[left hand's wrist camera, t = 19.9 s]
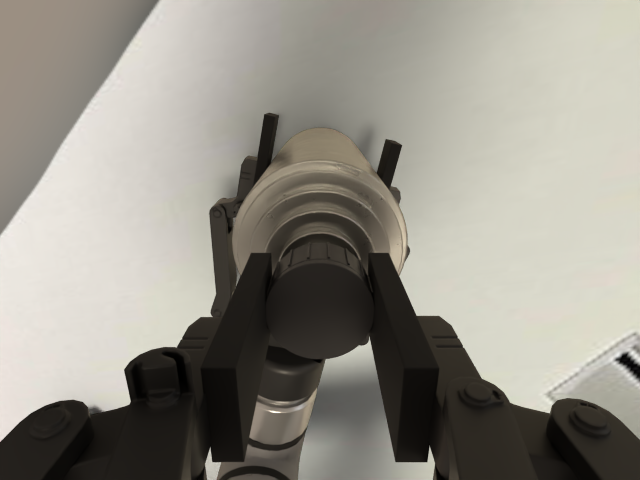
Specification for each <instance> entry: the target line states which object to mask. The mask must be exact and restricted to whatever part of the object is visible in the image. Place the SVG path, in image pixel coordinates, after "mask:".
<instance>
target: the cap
mask: <svg viewBox="0 0 640 480" xmlns="http://www.w3.org/2000/svg"><path fill="white" fill-rule="evenodd" d="M372 294H373V290H372V286H371V283H370V279H369V275H367V273H366V271H365V269H364V267H363V265H362V261H361V260H358V259H357V258H356V257H355V256H354V255H353V254H352V253H350V252H349V251H348V249H347V248H345V249H344V248H342V247H339V246H337V245H333V244H330V242H327V243H312V244H310V243H308V244H306V245H303V246H301V247H298V248H296V249H294V250H293V249H291V250H290V252H289V253H288V254H287V255H286V256H285V257H283V258H282V260H281V261H280V262H279V261H278V262H277V265H276V268H275V270H274V273H273V276H272V277H271V280H270V284H269V288H268V292H267V299H266V303H265V304H266V322H267V326H268V328H269V330H270V332H271V334H272V335H273V337H274V338H275V340H276V341H277V342H278V343H279V344H280V345H281V346H283V347H284V348H285V349H287V350H288V351H290V352H292V353H294V354H296V355H299V356H302V357H306V358H311V359H330V358H334V357H338V356H341V355H344V354H346V353H348V352H350V351H351V350H353V349H355V348H356V347H357V346H358V345H360V344H361V343H362V341H363V340H364V339H365V338H366V337H367V335H368V334H369V332H370V330H371V328H372V325H373V318H374V299H373V295H372Z"/></svg>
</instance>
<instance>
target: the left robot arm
mask: <svg viewBox="0 0 640 480" xmlns="http://www.w3.org/2000/svg"><path fill="white" fill-rule="evenodd" d="M367 275H369V279H370V283H371V286H372V290H373V294H372V295H373V299H374V318H373V325H372V328H371V330H370V332H369V336H370V341H371V345H372V350H373V355H374V360H375V365H376V370H377V374H378V379H379V384H380V389H381V394H382V399H383V403H384V408H385V413H386V418H387V423H388V428H389V433H390V437H391V442H392V447H393V452H394V457H395V462H427V460H428V453H429V445H430V448H431V451H432V454H433V458H434V461H435V469H434V476H433V480H640V440H639V439H638V438H637V437H636V436H635V435H634V434H633V433H632V432H631V431H630V430H629V429H628V428H627V427H626V426H625V425H624V424H623V423H622V422H621V421H620V420H619V419H618V418H616V417H615V416H614V415H613V414H611V413H610V412H609V411H607V410H605V409H603V408H601V407H600V406H598V405H596V404H593V403H590V402H587V401H584V400H581V399H571V398H566V399H561V400H557V401H556V402H555V403H554V404H553V405H552V408H551V412H550V413H545V412H541V411H537V410H532V409H528V408H524V407H520V406H517V405H514V404H512V403H510V402H509V400H508V398H507V397H506V395H505V394H504V392H503V391H501V390H500V389H499V388H498V387H497V386H495V385H494V384H492V383H490V382H488V381H486V380H483V379H482V378H481V377H480V375H479V373H478V371H477V370H476V368H475V366H474V364H473V363H472V361H471V359H470V357H469V356H468V354H467V352H466V350H465V349H464V348H463V345H462V343H461V342H460V340H459V339H458V336H457V335H456V333H455V331H454V329H453V328H452V326H451V325H450V324H449V323H447V322H446V321H445V320H444V319H442V318H441V317H440V316H416V314H415V311H414V309H413V307H412V305H411V302H410V300H409V298H408V295H407V293H406V291H405V289H404V286H403V284H402V282H401V280H400V277H399V275H398V273H397V270H396V268H395V266H394V264H393V261H392V259H391V257H390V254H389V253H368V273H367ZM271 277H272V257H271V253H251V254H250V256H249V258H248V261H247V263H246V265H245V268H244V270H243V272H242V274H241V277H240V279H239V281H238V283H237V286H236V288H235V290H234V293H233V295H232V297H231V299H230V302H229V304H228V306H227V309H226V311H225V313H224V315H223V317H200V318H199V319H198V320H197V321H195V322H194V323H193V324H191V325H190V326H189V327H188V329H187V330H186V332H185V334H184V336H183V337H182V340H181V341H180V343H179V345H178V346H177V348H176V347H162V348H158V349H153V350H150V351H147V352H145V353H143V354H140V355H139V356H137V357H136V358H135V359H133V360H132V361H130V363H129V364H128V365H127V367H126V368H125V369H124V371H125V376H126V381H127V385H128V390H129V395H130V399H131V403H130V405H127V406H125V407H121V408H118V409H114V410H110V411H106V412H101V413H97V414H93V415H90V413H89V409H88V407H87V406H86V405H85V404H84V403H83V402H80V401H76V400H66V401H58V402H55V403H52V404H49V405H46V406H44V407H42V408H40V409H38V410H36V411H34V412H33V413H31V414H30V415H28V416H27V417H26V418H25V419H23V420H22V421H21V422H20V423H19V424H18V425H17V426H16V427H15V428H14V429H13V430H12V431H11V432H10V433H9V434H8V435H7V436H6V437H5V438H4V439H3V440H2V441H1V442H0V480H207V476H206V469H205V462H206V459H207V455H208V452H209V449H210V447H211V455H212V462H244V460H245V456H246V451H247V446H248V441H249V436H250V431H251V426H252V422H253V417H254V412H255V407H256V402H257V397H258V393H259V388H260V383H261V378H262V373H263V368H264V364H265V359H266V354H267V349H268V344H269V339H270V334H271V332H270V330H269V328H268V326H267V322H266V304H265V303H266V299H267V292H268V288H269V284H270V280H271Z"/></svg>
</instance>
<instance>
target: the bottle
mask: <svg viewBox="0 0 640 480" xmlns="http://www.w3.org/2000/svg"><path fill="white" fill-rule="evenodd" d="M327 242H330V244H333V245H337V246H339V247H342V248H344V249H345V248H347V249H348V251H349V252H350V253H352V254H353V255H354V256H355V257H356V258H357V259H358V260H361V261H362V265H363V267H364V269H365V271H366V273H368V253H389V254H390V257H391V259H392V261H393V264H394V266H395V268H396V270H397V273H398V275H400V273H401V271H402V268H403V266H404V262H405V258H406V253H407V230H406V224H405V220H404V217H403V214H402V211H401V209H400V207H399V205H398V203H397V202H396V200H395V198H394V197H393V195H392V194H391V192H390V191H389V190H388V188H387V187H386V186H385V184H384V183H383V182H382V180H381V179H380V178H379V176H378V175H377V173H376V172H375V171H374V169H373V168H372V167H371V165H370V164H369V163H368V161H367V160H366V158H365V157H364V156H363V154H362V153H361V152H360V150H359V149H358V148H357V146H356V145H355V144H354V143H353V141H352V140H350V139H349V138H348V137H347V136H345V135H344V134H342V133H340V132H338V131H336V130H333V129H329V128H311V129H307V130H304V131H302V132H300V133H298V134H296V135H295V136H293V137H292V138H291V139H290V140H289V141H287V142H286V144H285V145H284V146H283V148H282V149H281V150H280V152H279V153H278V154H277V156H276V157H275V158H274V160H273V161H272V162H271V164H270V165H269V167H268V168H267V169H266V171H265V172H264V173H263V175H262V176H261V177H260V179H259V180H258V182H257V183H256V184H255V186H254V187H253V188H252V190H251V191H250V192H249V194H248V195H247V196H246V198H245V200H244V201H243V203H242V205H241V207H240V209H239V211H238V214H237V216H236V220H235V224H234V228H233V237H232V243H233V254H234V259H235V263H236V266H237V269H238V271H239V273H240V275H241V274H242V272H243V270H244V268H245V265H246V263H247V261H248V258H249V256H250V254H251V253H271V257H272V276H273V273H274V270H275V268H276V265H277V262H278V261H279V262H280V261H281V260H282V258H283V257H285V256H286V255H287V254H288V253H289V252H290V250H291V249H293V250H294V249H296V248H298V247H301V246H303V245H306V244H308V243H310V244H312V243H327Z"/></svg>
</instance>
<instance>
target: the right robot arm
mask: <svg viewBox="0 0 640 480" xmlns="http://www.w3.org/2000/svg"><path fill="white" fill-rule="evenodd" d="M278 118H279V115H276V114H272V113H267V114H264V120H263V126H262V133H261V139H260V145H259V152H258V158H257V157H252V156H248V157H246V158H245V160H244V161H243V163H242V165H241V173H240V179H239V186H238V193H237V197H235V198H230V199H226V198H222V199H220V200H219V201H218V202H217V203H216V204H215V205H214V206H213V207H212V208H211V209H210V213H209V214H210V226H211V238H212V249H213V261H214V273H215V284H216V296H215V299H214V303H213V306H212V309H211V315H212V316H213V317H223V315H224V313H225V311H226V309H227V306H228V304H229V302H230V299H231V297H232V295H233V293H234V290H235V287H236V281H237V275H236V263H235V259H234V254H233V243H232V237H233V217H236V216H237V214H238V211H239V209H240V207H241V205H242V203H243V201H244V200H245V198H246V196H247V195H248V194H249V192H250V191H251V190H252V188H253V187H254V186H255V184H256V183H257V182H258V180H259V179H260V177H261V176H262V175H263V173H264V172H265V171H266V169H267V168H268V167H269V165H270V164H271V159H272V153H273V147H274V141H275V135H276V130H277V124H278ZM401 147H402V145H401V144H399V143H397V142H396V141H392V140H388V139H386V140H385V144H384V148H383V151H382V155H381V159H380V163H379V166H378V170H377V175H378V176H379V178H380V179H381V180H382V182H383V183H384V184H385V186H386V187H387V188H388V190H389V191H390V192H391V194H392V195H393V197H394V198H395V200H396V202H397V203H398V205H399V202H400V199H401V197H400V191H399V190H398V189H397V188H396V187H391V183H392V179H393V176H394V172H395V169H396V165H397V161H398V158H399V154H400V151H401ZM409 253H410V248H409V247H408V245H407V253H406V258H405V261H406V259H407V257H408V255H409ZM368 341H369V334H368V335H367V337H366V338H365V339H364V340H363V341H362V343H361V344H360V345H365V344H367V343H368ZM324 363H325V359H311V358H306V357H302V356H299V355H296V354H294V353H292V352H290V351H288V350H287V349H285V348H284V347H283V346H281V345H280V344H279V343H278V342H277V341H276V340H275V338H274V337H273V335H272V334H270V339H269V344H268V349H267V354H266V359H265V364H264V368H263V373H262V378H261V383H260V388H259V393H258V397H257V402H256V407H255V412H254V417H253V422H252V426H251V431H250V436H249V441H248V446H247V451H246V456H245V460H244V462H221V466H220V469H219V473H218V477H217V480H298V469H299V460H300V454H301V450H302V445H303V441H304V436H305V432H306V429H307V426H308V423H309V420H310V416H311V412H312V409H313V405H314V401H315V398H316V394H317V387H318V385H319V382H320V378H321V374H322V371H323V367H324Z"/></svg>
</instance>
